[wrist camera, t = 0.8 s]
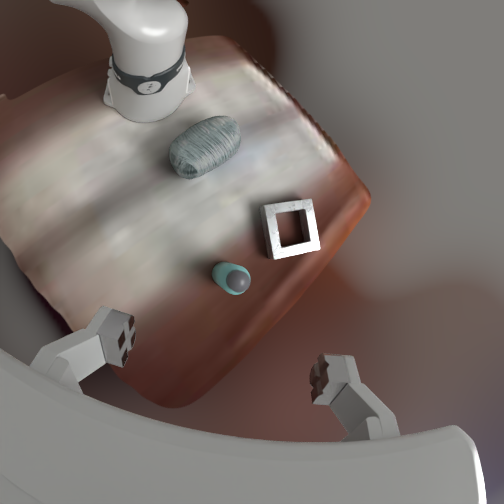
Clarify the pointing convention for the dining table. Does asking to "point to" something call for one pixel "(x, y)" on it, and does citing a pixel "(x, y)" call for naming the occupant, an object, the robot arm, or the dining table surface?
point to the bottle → (231, 277)
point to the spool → (204, 146)
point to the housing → (306, 224)
